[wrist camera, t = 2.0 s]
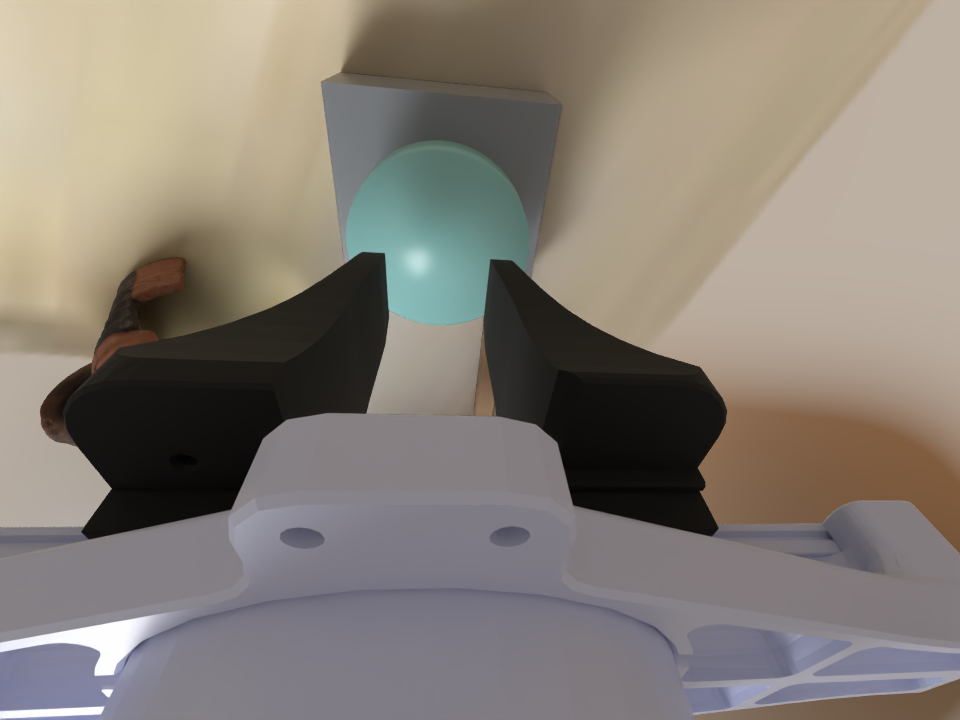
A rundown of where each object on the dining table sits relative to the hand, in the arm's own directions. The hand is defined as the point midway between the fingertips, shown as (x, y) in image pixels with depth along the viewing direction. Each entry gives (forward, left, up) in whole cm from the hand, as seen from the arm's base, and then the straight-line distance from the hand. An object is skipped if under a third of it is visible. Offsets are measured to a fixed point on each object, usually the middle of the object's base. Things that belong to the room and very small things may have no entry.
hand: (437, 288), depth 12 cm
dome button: (0, 0, -7) cm, 7 cm away
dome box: (0, 0, -9) cm, 9 cm away
